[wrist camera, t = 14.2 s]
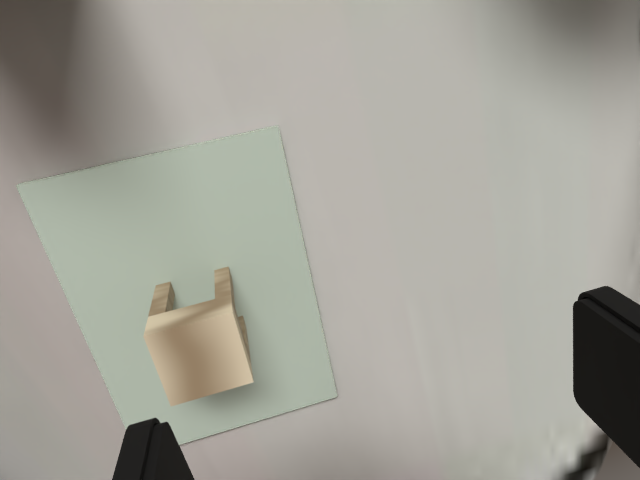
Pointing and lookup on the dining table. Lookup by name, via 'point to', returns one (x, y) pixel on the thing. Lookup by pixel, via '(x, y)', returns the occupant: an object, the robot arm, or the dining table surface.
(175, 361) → the stool
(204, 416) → the mat
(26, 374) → the dining table surface
